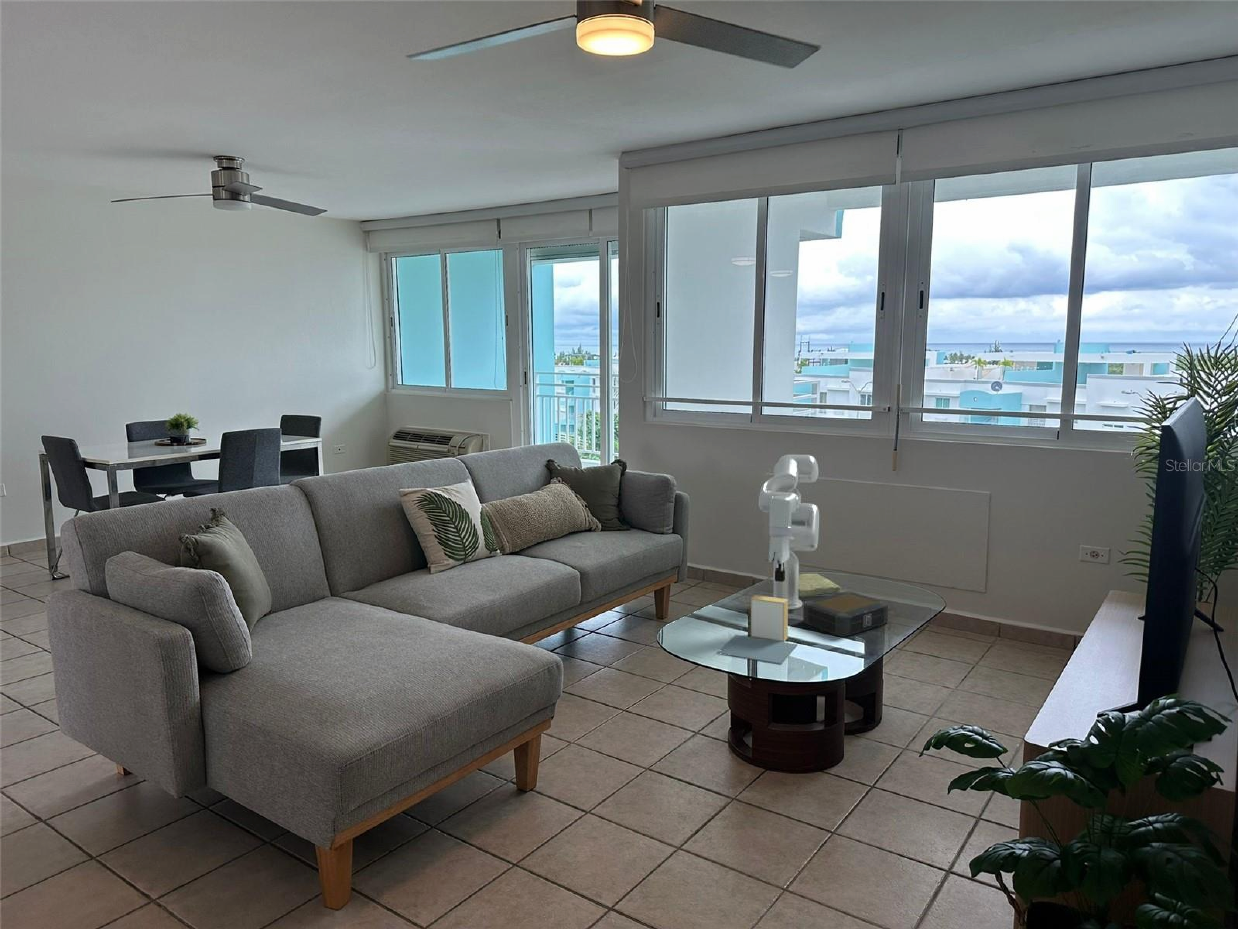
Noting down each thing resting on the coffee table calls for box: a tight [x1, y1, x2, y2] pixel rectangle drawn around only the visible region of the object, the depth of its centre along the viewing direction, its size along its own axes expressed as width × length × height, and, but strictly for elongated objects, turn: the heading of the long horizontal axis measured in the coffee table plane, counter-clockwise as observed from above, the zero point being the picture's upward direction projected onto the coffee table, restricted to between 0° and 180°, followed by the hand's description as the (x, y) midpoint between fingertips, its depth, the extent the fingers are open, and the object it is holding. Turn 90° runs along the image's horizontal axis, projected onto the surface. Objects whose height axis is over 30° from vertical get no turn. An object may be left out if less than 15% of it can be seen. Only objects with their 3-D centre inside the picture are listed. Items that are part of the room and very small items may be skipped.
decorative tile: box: [798, 573, 841, 597], centre depth 345 cm, size 19×20×4 cm
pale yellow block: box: [750, 594, 789, 642], centre depth 289 cm, size 4×12×14 cm, turn 62°
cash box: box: [802, 590, 890, 637], centre depth 302 cm, size 25×20×8 cm
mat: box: [716, 634, 798, 665], centre depth 279 cm, size 18×22×1 cm
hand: (779, 580), depth 298 cm, fingers closed
